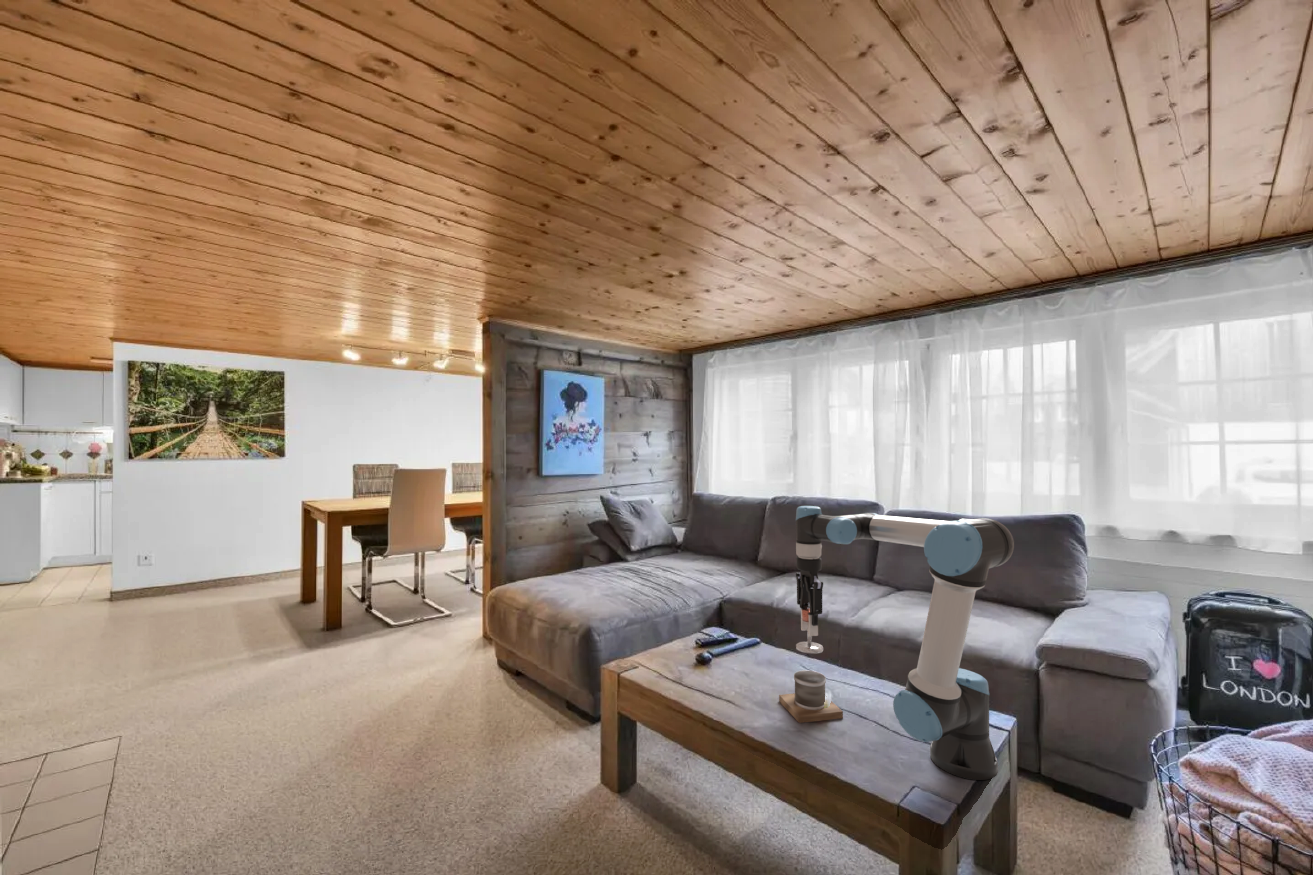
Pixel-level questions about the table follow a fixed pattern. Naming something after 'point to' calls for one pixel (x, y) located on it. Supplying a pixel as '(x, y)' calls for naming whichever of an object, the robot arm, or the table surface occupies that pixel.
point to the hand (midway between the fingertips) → (809, 632)
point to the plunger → (808, 646)
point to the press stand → (809, 699)
